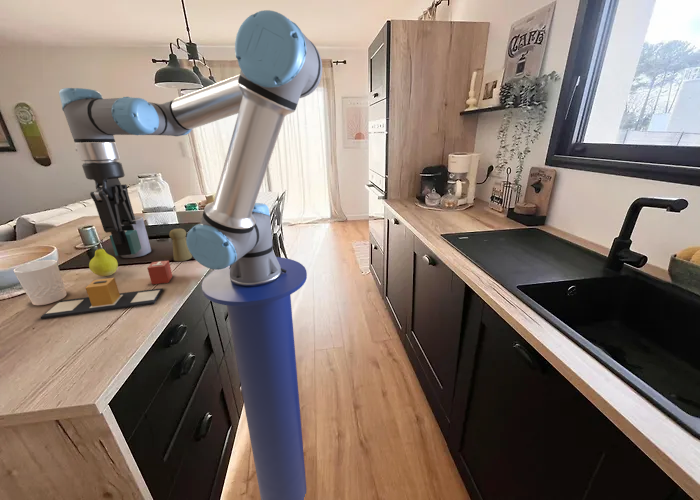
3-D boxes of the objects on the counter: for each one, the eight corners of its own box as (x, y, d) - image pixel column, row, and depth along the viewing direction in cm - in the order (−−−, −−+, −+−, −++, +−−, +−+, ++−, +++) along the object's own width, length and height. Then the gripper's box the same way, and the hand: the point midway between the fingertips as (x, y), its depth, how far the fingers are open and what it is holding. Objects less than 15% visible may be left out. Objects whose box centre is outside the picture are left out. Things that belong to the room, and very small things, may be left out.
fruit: (89, 281, 88) (76, 244, 83) (97, 272, 93) (85, 238, 89) (117, 277, 90) (105, 241, 86) (123, 269, 96) (112, 235, 92)
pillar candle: (119, 253, 110) (107, 215, 104) (149, 247, 116) (139, 210, 110) (122, 260, 103) (110, 220, 97) (154, 253, 109) (144, 215, 104)
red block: (172, 276, 91) (168, 259, 89) (168, 282, 87) (164, 265, 85) (156, 278, 90) (152, 261, 88) (151, 284, 86) (147, 267, 84)
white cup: (61, 289, 83) (48, 257, 79) (75, 295, 80) (62, 262, 76) (23, 302, 76) (7, 268, 73) (36, 309, 73) (20, 274, 69)
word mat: (163, 289, 83) (162, 287, 83) (154, 304, 76) (153, 301, 75) (61, 302, 76) (60, 300, 76) (41, 319, 69) (40, 316, 69)
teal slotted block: (141, 248, 80) (136, 229, 78) (135, 254, 76) (129, 233, 74) (123, 250, 79) (117, 230, 77) (115, 255, 75) (108, 235, 73)
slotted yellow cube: (120, 295, 78) (114, 276, 76) (112, 304, 74) (106, 284, 72) (100, 298, 77) (94, 279, 75) (92, 306, 73) (84, 286, 71)
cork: (170, 258, 104) (163, 229, 101) (187, 253, 109) (181, 226, 105) (178, 262, 101) (172, 232, 97) (195, 257, 106) (189, 228, 102)
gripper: (101, 160, 76) (126, 242, 85) (59, 164, 61) (95, 265, 69) (134, 159, 78) (155, 239, 87) (101, 163, 62) (131, 261, 71)
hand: (129, 251), depth 78 cm, fingers closed on teal slotted block, 4 cm apart
